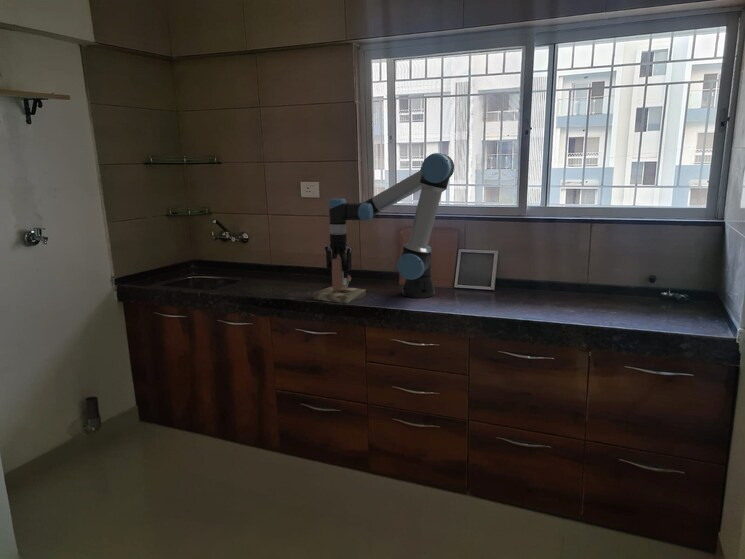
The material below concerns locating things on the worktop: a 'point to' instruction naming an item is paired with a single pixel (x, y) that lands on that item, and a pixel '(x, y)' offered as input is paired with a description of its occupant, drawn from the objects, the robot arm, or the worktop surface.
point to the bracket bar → (337, 274)
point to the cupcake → (348, 280)
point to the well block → (340, 294)
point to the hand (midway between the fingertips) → (339, 284)
